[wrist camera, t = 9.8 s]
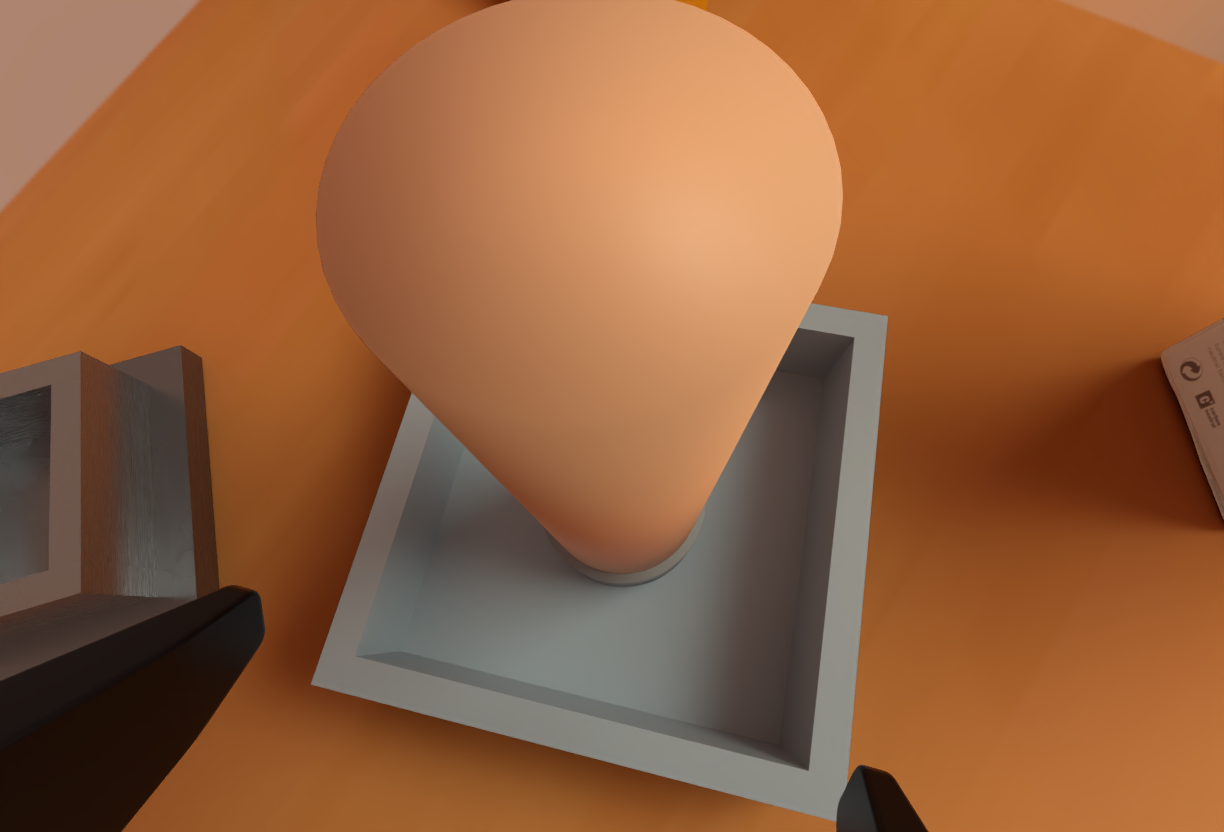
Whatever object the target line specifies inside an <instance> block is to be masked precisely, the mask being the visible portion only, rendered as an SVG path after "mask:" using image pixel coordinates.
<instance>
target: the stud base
mask: <svg viewBox="0 0 1224 832" xmlns="http://www.w3.org/2000/svg"><path fill="white" fill-rule="evenodd" d="M217 590H219V580H218V567H217V554H216V540H215V527H214V514H213V501H212V487H211V474H210V461H209V448H208V434H207V421H206V408H205V395H204V381H203V368H202V358H201V357H199V356H198V355H196V354H194V353H193V352H191V351H189V350H188V349H186V348H185V347H183V346H181V345H180V346H176V347H173V348H169V349H166V350H162V351H158V352H155V353H151V354H148V355H144V356H140V357H137V358H133V359H130V360H126V361H122V362H119V363H115V364H112V365H107V364H105V363H103V362H101V361H99V360H97V359H95V358H93V357H91V356H89V355H87V354H85V353H83V352H81V351H80V352H76V353H72V354H69V355H65V356H62V357H58V358H54V359H51V360H47V361H44V362H40V363H36V364H33V365H29V366H26V367H22V368H18V369H15V370H11V371H7V372H4V373H0V681H1V680H3V679H6V678H8V677H10V676H13V675H15V674H18V673H20V672H22V671H25V670H27V669H30V668H32V667H34V666H37V665H39V664H42V663H44V662H46V661H49V660H51V659H54V658H56V657H58V656H61V655H63V654H66V653H68V652H70V651H73V650H75V649H78V648H80V647H82V646H85V645H87V644H90V643H92V642H94V641H97V640H99V639H102V638H104V637H106V636H109V635H111V634H114V633H116V632H118V631H121V630H123V629H126V628H128V627H130V626H133V625H135V624H138V623H140V622H142V621H145V620H147V619H150V618H152V617H154V616H157V615H159V614H161V613H164V612H166V611H169V610H171V609H173V608H176V607H178V606H181V605H183V604H185V603H188V602H190V601H193V600H195V599H197V598H200V597H202V596H205V595H207V594H209V593H212V592H214V591H217Z"/></svg>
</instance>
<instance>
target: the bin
mask: <svg viewBox="0 0 1224 832" xmlns="http://www.w3.org/2000/svg"><path fill="white" fill-rule="evenodd" d="M887 321H888V316H884V315H878V314H872V313H866V312H860V311H854V310H848V309H842V308H836V307H830V306H825V305H819V304H813V303H811V304H810V306H809V308H808V310H807V312H806V313H805V315H804V317H803V319H802V321H801V323H800V325H799V327H798V329H797V331H796V332H795V334H794V336H793V338H792V340H791V342H790V344H789V346H788V348H787V350H786V351H785V353H784V355H783V357H782V359H781V361H780V363H779V365H778V367H777V369H776V371H775V372H774V374H773V376H772V378H771V380H770V382H769V384H768V386H767V388H766V390H765V391H764V393H763V395H762V397H761V399H760V401H759V403H758V405H757V407H756V409H755V410H754V412H753V414H752V416H751V418H750V420H749V422H748V424H747V426H746V428H745V429H744V431H743V433H742V435H741V437H740V439H739V441H738V443H737V445H736V447H735V448H734V450H733V452H732V454H731V456H730V458H729V460H728V462H727V464H726V466H725V467H724V469H723V471H722V473H721V475H720V477H719V479H718V481H717V483H716V485H715V486H714V488H713V490H712V492H711V494H710V496H709V498H708V500H707V502H706V509H705V516H704V520H703V523H702V527H701V529H700V531H699V534H698V536H697V538H696V539H695V541H694V543H693V544H692V546H691V548H690V549H689V551H688V552H687V554H686V555H685V557H684V558H683V559H682V560H681V562H680V563H679V564H678V565H677V566H676V567H675V568H673V569H672V570H671V571H670V572H668V573H667V574H666V575H664V576H662V577H660V578H659V579H657V580H655V581H652V582H649V583H647V584H643V585H638V586H631V587H617V586H610V585H605V584H602V583H599V582H596V581H594V580H592V579H590V578H588V577H586V576H584V575H583V574H582V573H580V572H579V571H577V570H576V569H575V568H574V567H573V566H572V565H570V564H569V563H568V562H567V561H566V560H565V559H564V558H563V557H562V556H561V555H560V554H559V553H558V552H557V551H556V549H555V548H554V547H553V545H552V544H551V542H550V540H549V539H548V537H547V534H546V532H545V530H544V528H543V526H542V525H541V524H540V523H539V522H538V521H537V520H536V519H535V518H534V517H533V516H532V515H531V513H530V512H529V511H528V510H527V509H526V508H525V507H524V506H523V505H522V504H521V503H520V502H519V501H518V500H517V499H516V498H515V497H514V496H513V495H512V494H511V493H510V492H509V491H508V490H507V489H506V488H505V487H504V486H503V485H502V484H501V483H500V482H499V481H498V480H497V479H496V478H495V477H494V476H493V475H492V474H491V473H490V472H489V471H488V470H487V469H486V468H485V467H484V466H483V465H482V464H481V463H480V462H479V461H478V460H477V458H476V457H475V456H474V455H473V454H472V453H471V452H470V451H469V450H468V449H467V448H466V447H465V446H464V445H463V444H462V443H461V442H460V441H459V440H458V439H457V438H456V437H455V436H454V435H453V434H452V433H451V432H450V431H449V430H448V429H447V428H446V427H445V426H444V425H443V424H442V423H441V422H440V421H439V420H438V419H437V418H436V417H435V416H434V415H433V414H432V413H431V412H430V411H429V410H428V409H427V408H426V407H425V406H424V405H423V403H422V402H421V401H420V400H419V399H418V398H417V397H416V396H415V395H414V394H413V393H412V394H411V397H410V400H409V403H408V405H407V408H406V411H405V414H404V417H403V420H402V423H401V426H400V428H399V431H398V434H397V437H396V440H395V443H394V446H393V449H392V452H391V454H390V457H389V460H388V463H387V466H386V469H385V472H384V475H383V477H382V480H381V483H380V486H379V489H378V492H377V495H376V498H375V501H374V503H373V506H372V509H371V512H370V515H369V518H368V521H367V524H366V526H365V529H364V532H363V535H362V538H361V541H360V544H359V547H358V550H357V552H356V555H355V558H354V561H353V564H352V567H351V570H350V573H349V575H348V578H347V581H346V584H345V587H344V590H343V593H342V596H341V599H340V601H339V604H338V607H337V610H336V613H335V616H334V619H333V622H332V624H331V627H330V630H329V633H328V636H327V639H326V642H325V645H324V648H323V650H322V653H321V656H320V659H319V662H318V665H317V668H316V671H315V674H314V676H313V679H312V682H311V685H314V686H318V687H322V688H325V689H329V690H333V691H337V692H341V693H345V694H348V695H352V696H356V697H360V698H364V699H368V700H371V701H375V702H379V703H383V704H387V705H391V706H394V707H398V708H402V709H406V710H410V711H414V712H417V713H421V714H425V715H429V716H433V717H437V718H440V719H444V720H448V721H452V722H456V723H460V724H464V725H467V726H471V727H475V728H479V729H483V730H487V731H490V732H494V733H498V734H502V735H506V736H510V737H513V738H517V739H521V740H525V741H529V742H533V743H536V744H540V745H544V746H548V747H552V748H556V749H559V750H563V751H567V752H571V753H575V754H579V755H582V756H586V757H590V758H594V759H598V760H602V761H605V762H609V763H613V764H617V765H621V766H625V767H628V768H632V769H636V770H640V771H644V772H648V773H651V774H655V775H659V776H663V777H667V778H671V779H674V780H678V781H682V782H686V783H690V784H694V785H698V786H701V787H705V788H709V789H713V790H717V791H721V792H724V793H728V794H732V795H736V796H740V797H744V798H747V799H751V800H755V801H759V802H763V803H767V804H770V805H774V806H778V807H782V808H786V809H790V810H793V811H797V812H801V813H805V814H809V815H813V816H816V817H820V818H824V819H828V820H832V821H836V816H837V808H838V803H839V800H840V798H841V796H842V794H843V792H844V790H845V788H846V786H847V776H848V765H849V753H850V742H851V731H852V719H853V708H854V697H855V685H856V674H857V662H858V651H859V640H860V628H861V617H862V605H863V594H864V583H865V571H866V560H867V548H868V537H869V526H870V514H871V503H872V491H873V480H874V469H875V457H876V446H877V435H878V423H879V412H880V400H881V389H882V378H883V366H884V355H885V343H886V332H887Z"/></svg>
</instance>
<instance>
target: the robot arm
mask: <svg viewBox="0 0 1224 832" xmlns="http://www.w3.org/2000/svg"><path fill="white" fill-rule="evenodd" d="M264 633H265V625H264V618H263V611H262V604H261V598H260V595H259V594H258V593H257V592H256V591H254V590H251V589H248V588H244V587H241V586H236V585H231V586H227V587H224V588H221V589H219V590H217V591H214V592H212V593H209V594H207V595H205V596H202V597H200V598H197V599H195V600H193V601H190V602H188V603H185V604H183V605H181V606H178V607H176V608H173V609H171V610H169V611H166V612H164V613H161V614H159V615H157V616H154V617H152V618H150V619H147V620H145V621H142V622H140V623H138V624H135V625H133V626H130V627H128V628H126V629H123V630H121V631H118V632H116V633H114V634H111V635H109V636H106V637H104V638H102V639H99V640H97V641H94V642H92V643H90V644H87V645H85V646H82V647H80V648H78V649H75V650H73V651H70V652H68V653H66V654H63V655H61V656H58V657H56V658H54V659H51V660H49V661H46V662H44V663H42V664H39V665H37V666H34V667H32V668H30V669H27V670H25V671H22V672H20V673H18V674H15V675H13V676H10V677H8V678H6V679H3V680H1V681H0V832H121V831H122V830H123V829H124V828H125V827H126V825H127V824H128V823H129V822H130V820H131V819H132V818H133V817H134V815H135V814H136V813H137V812H138V811H139V809H140V808H141V807H142V806H143V804H144V803H145V802H146V801H147V799H148V798H149V797H150V796H151V795H152V793H153V792H154V791H155V790H156V788H157V787H158V786H159V785H160V784H161V782H162V781H163V780H164V779H165V777H166V776H167V775H168V774H169V772H170V771H171V770H172V769H173V768H174V766H175V765H176V764H177V763H178V761H179V760H180V759H181V758H182V756H183V755H184V754H185V753H186V751H187V750H188V749H189V748H190V746H191V745H192V744H193V742H194V741H195V740H196V739H197V737H198V736H199V734H200V733H201V732H202V730H203V729H204V727H205V726H206V725H207V723H208V722H209V720H210V719H211V717H212V716H213V714H214V713H215V711H216V710H217V708H218V707H219V705H220V704H221V702H222V701H223V700H224V698H225V697H226V695H227V694H228V692H229V691H230V689H231V688H232V686H233V685H234V683H235V682H236V680H237V679H238V677H239V676H240V674H241V673H242V671H243V670H244V668H245V667H246V666H247V664H248V663H249V661H250V660H251V658H252V657H253V655H254V654H255V652H256V651H257V649H258V648H259V646H260V644H261V642H262V640H263V637H264ZM836 832H928V830H927V829H926V827H925V826H924V824H923V823H922V821H921V819H920V818H919V816H918V815H917V813H916V811H915V810H914V808H913V807H912V805H911V804H910V802H909V800H908V799H907V797H906V796H905V794H904V792H903V791H902V789H901V788H900V786H899V785H898V783H897V781H896V780H895V778H894V777H893V776H892V775H891V774H889V773H888V772H886V771H883V770H879V769H876V768H872V767H869V766H865V765H860V766H858V767H857V768H856V769H855V771H854V772H853V774H852V776H851V778H850V780H849V782H848V784H847V786H846V788H845V790H844V792H843V794H842V796H841V798H840V800H839V803H838V808H837V816H836Z"/></svg>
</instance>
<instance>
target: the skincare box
mask: <svg viewBox="0 0 1224 832" xmlns="http://www.w3.org/2000/svg"><path fill="white" fill-rule="evenodd" d="M1161 361H1162V364H1163V367H1164V370H1165V373H1166V375H1167V378H1168V380H1169V382H1170V384H1171V386H1172V388H1173V390H1174V392H1175V394H1176V396H1177V398H1178V401H1179V403H1180V406H1181V408H1182V411H1183V414H1184V416H1185V419H1186V422H1187V424H1188V427H1189V430H1190V432H1191V435H1192V438H1193V441H1194V443H1195V447H1196V450H1197V453H1198V456H1199V459H1200V462H1201V464H1202V467H1203V469H1204V472H1205V474H1206V476H1207V479H1208V482H1209V485H1210V487H1211V489H1212V492H1213V495H1214V497H1215V499H1216V502H1217V504H1218V507H1219V509H1220V512H1221V515H1222V517H1223V519H1224V318H1223V319H1221V320H1219V321H1217V322H1215V323H1214V324H1212V325H1210V326H1208V327H1206V328H1204V329H1203V330H1201V331H1199V332H1197V333H1195V334H1194V335H1192V336H1190V337H1188V338H1186V339H1184V340H1183V341H1181V342H1179V343H1177V344H1175V345H1173V346H1171V347H1169V348H1168V349H1166V350H1164V351H1163V352H1162V353H1161Z"/></svg>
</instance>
